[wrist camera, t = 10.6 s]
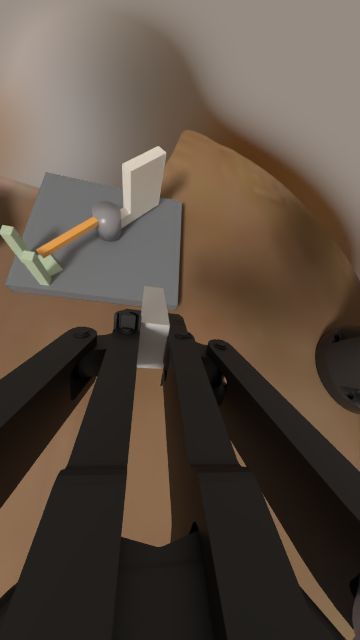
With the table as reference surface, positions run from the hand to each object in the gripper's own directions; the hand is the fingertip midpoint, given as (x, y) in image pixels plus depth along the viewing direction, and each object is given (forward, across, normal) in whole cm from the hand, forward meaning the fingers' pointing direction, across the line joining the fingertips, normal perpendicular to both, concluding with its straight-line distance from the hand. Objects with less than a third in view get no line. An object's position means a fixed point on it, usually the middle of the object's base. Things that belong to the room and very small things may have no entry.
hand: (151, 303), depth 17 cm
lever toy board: (+24, -7, +1) cm, 25 cm away
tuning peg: (+23, -7, +3) cm, 24 cm away
